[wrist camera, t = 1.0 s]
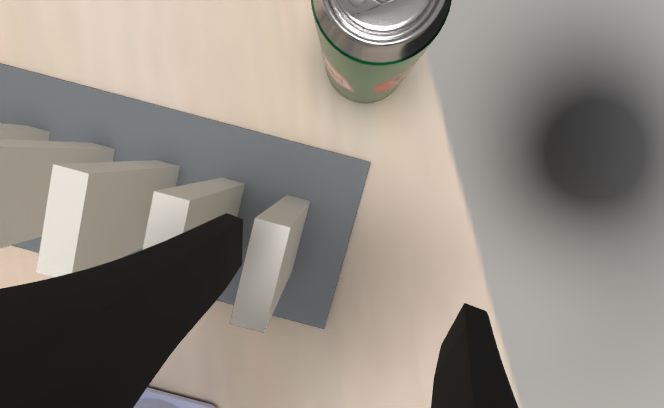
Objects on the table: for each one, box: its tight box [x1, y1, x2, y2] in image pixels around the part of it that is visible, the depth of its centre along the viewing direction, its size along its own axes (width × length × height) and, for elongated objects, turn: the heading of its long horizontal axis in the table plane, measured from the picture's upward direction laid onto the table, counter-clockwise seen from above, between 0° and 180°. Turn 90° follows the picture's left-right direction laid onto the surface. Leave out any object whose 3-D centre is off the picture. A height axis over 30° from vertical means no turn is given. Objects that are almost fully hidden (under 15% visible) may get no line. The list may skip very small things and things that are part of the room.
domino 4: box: [230, 195, 310, 333], centre depth 21 cm, size 2×5×9 cm, turn 165°
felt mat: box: [0, 64, 371, 329], centre depth 26 cm, size 12×31×1 cm, turn 75°
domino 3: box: [143, 178, 245, 250], centre depth 21 cm, size 2×5×9 cm, turn 165°
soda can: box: [311, 0, 452, 103], centre depth 18 cm, size 5×5×12 cm
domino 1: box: [0, 139, 115, 248], centre depth 21 cm, size 2×5×9 cm, turn 165°
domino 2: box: [36, 160, 180, 277], centre depth 21 cm, size 2×5×9 cm, turn 165°
